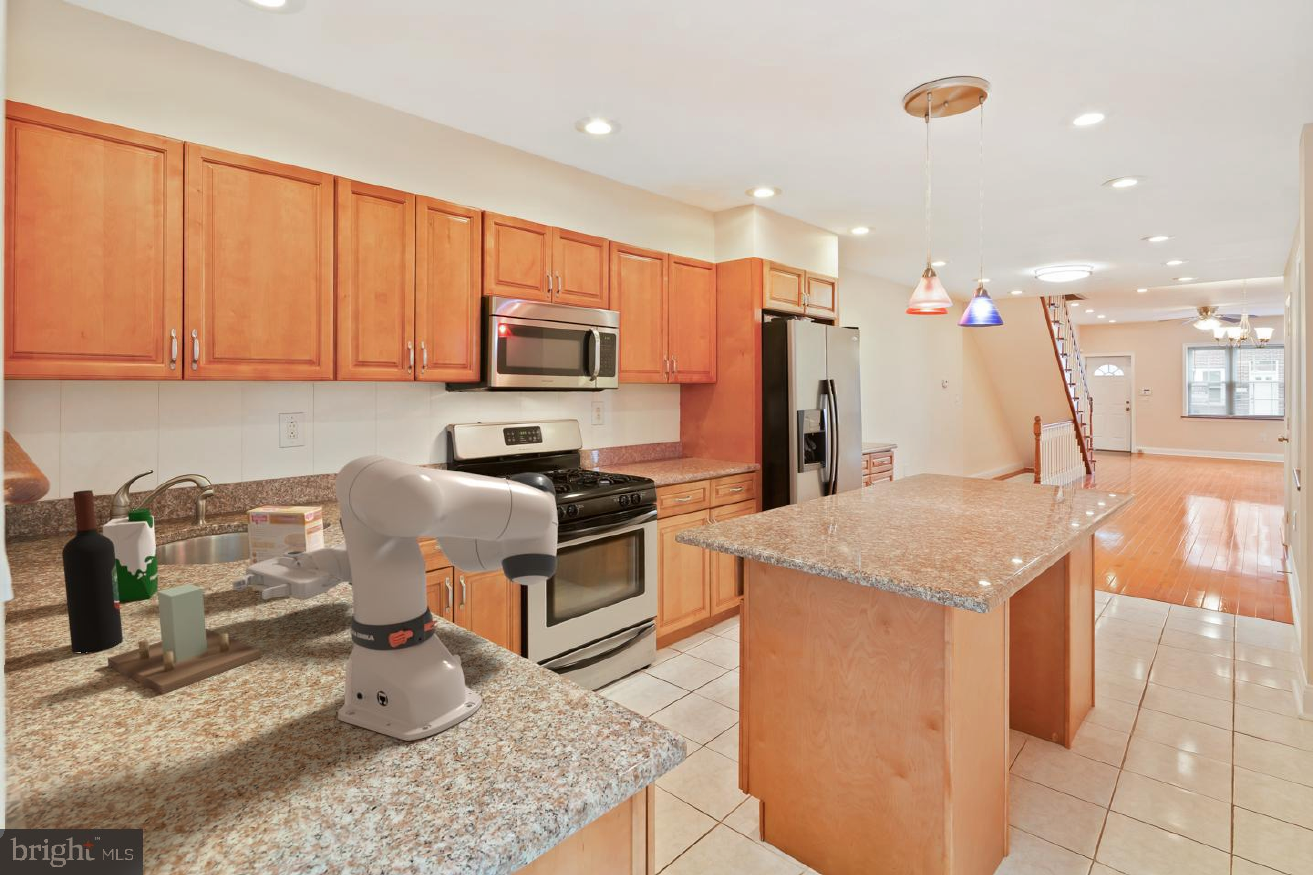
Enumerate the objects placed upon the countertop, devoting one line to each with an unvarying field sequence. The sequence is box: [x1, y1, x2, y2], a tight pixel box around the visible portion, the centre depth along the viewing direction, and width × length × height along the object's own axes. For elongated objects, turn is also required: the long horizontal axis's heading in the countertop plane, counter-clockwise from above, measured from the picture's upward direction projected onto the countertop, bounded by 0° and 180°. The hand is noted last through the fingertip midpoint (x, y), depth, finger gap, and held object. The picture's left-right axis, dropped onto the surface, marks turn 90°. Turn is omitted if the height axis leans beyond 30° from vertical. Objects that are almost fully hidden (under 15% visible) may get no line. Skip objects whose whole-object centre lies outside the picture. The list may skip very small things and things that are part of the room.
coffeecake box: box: [246, 505, 325, 592], centre depth 162 cm, size 15×7×20 cm, turn 82°
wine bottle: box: [61, 489, 124, 654], centre depth 128 cm, size 8×8×30 cm
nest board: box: [107, 628, 262, 695], centre depth 123 cm, size 20×16×4 cm
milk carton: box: [102, 508, 159, 603], centre depth 156 cm, size 9×9×20 cm
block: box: [157, 583, 207, 662], centre depth 122 cm, size 5×5×12 cm
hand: (247, 590), depth 132 cm, fingers open, 8 cm apart
